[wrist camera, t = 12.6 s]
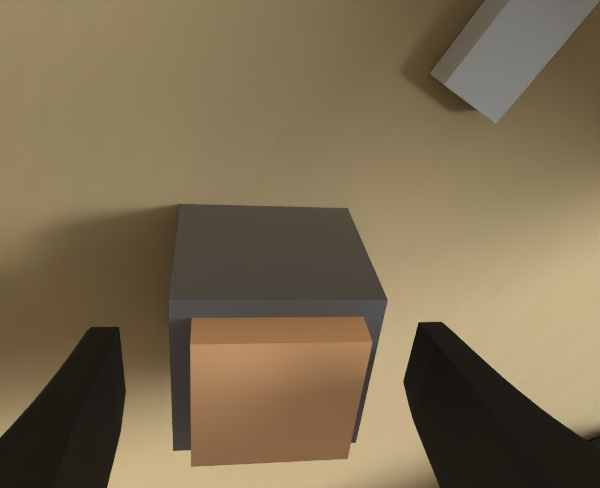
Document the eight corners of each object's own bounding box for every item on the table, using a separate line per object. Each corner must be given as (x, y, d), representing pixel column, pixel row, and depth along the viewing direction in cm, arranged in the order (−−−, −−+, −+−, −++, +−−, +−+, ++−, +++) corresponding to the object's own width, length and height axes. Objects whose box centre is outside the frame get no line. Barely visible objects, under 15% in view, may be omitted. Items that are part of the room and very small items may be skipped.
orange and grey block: (347, 207, 15) (398, 324, 11) (327, 333, 17) (362, 469, 13) (179, 203, 14) (165, 326, 10) (182, 334, 17) (171, 480, 12)
